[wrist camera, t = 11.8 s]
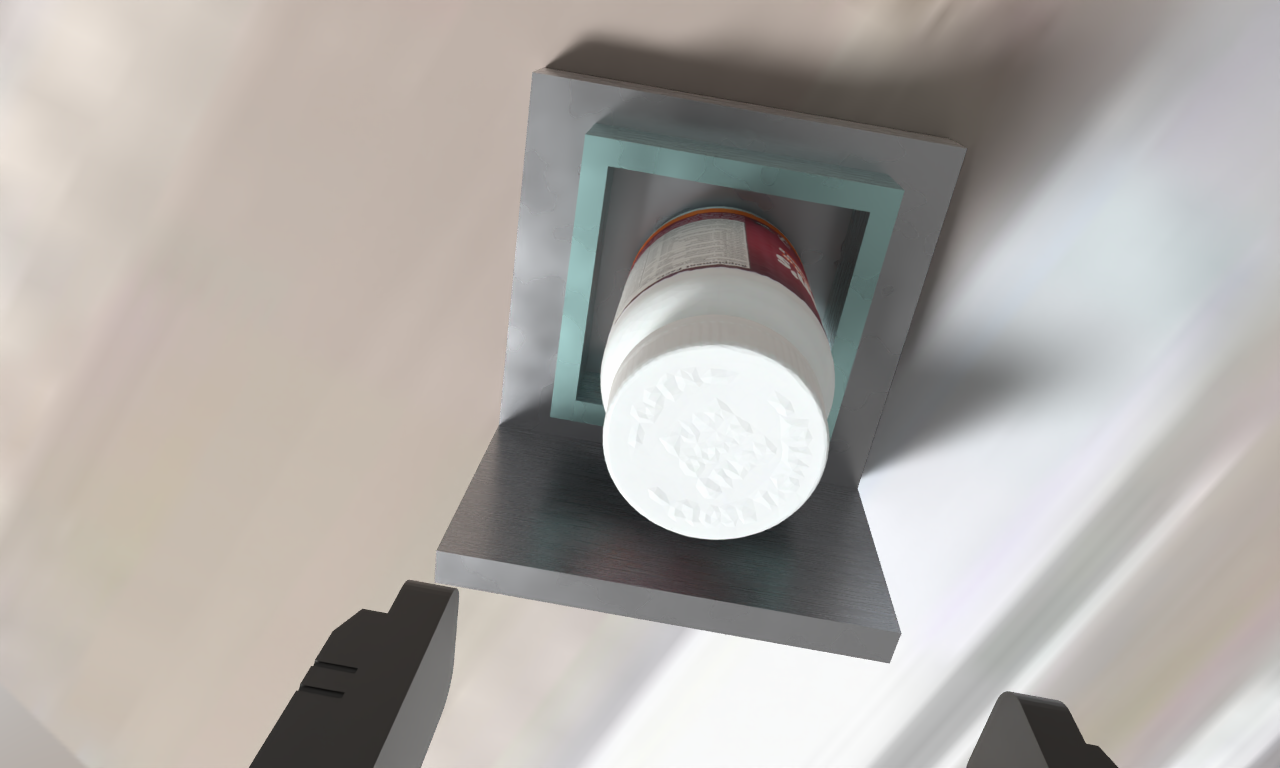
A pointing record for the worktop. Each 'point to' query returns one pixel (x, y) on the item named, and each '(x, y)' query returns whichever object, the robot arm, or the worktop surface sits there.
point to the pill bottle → (717, 378)
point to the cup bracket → (583, 317)
